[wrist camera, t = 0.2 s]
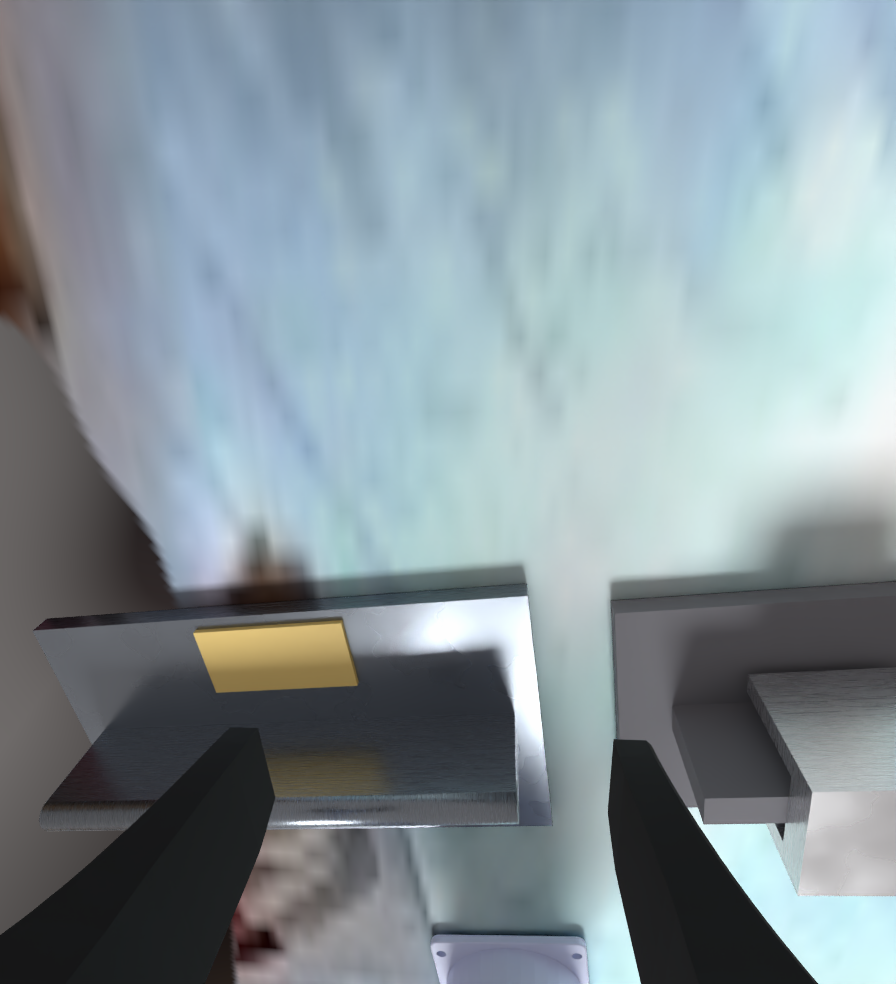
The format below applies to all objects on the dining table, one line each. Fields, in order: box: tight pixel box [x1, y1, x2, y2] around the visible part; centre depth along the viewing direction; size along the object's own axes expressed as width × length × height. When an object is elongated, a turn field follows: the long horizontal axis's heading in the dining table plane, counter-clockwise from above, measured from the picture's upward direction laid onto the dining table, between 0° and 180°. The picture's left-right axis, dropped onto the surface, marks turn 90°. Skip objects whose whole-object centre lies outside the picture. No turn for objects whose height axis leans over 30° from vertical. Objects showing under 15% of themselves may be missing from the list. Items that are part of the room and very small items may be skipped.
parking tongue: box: [611, 581, 896, 824], centre depth 20 cm, size 10×14×5 cm
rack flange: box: [33, 584, 553, 831], centre depth 23 cm, size 12×20×5 cm, turn 98°
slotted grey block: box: [747, 667, 896, 896], centre depth 19 cm, size 5×5×5 cm
